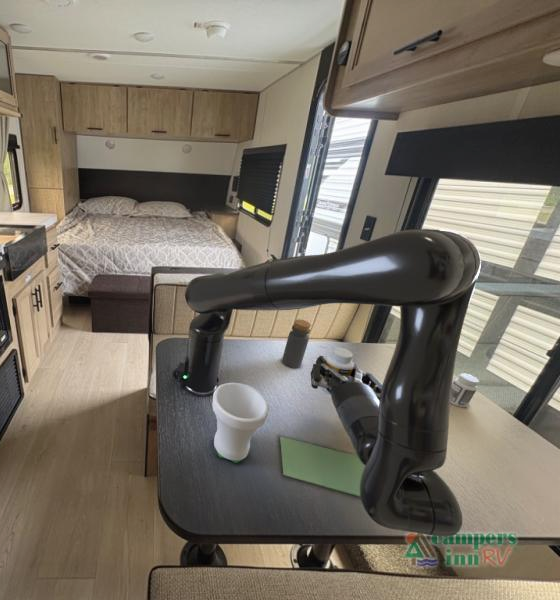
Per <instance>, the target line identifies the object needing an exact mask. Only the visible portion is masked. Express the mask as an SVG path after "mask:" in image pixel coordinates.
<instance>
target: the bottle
mask: <svg viewBox="0 0 560 600" xmlns="http://www.w3.org/2000/svg"><path fill="white" fill-rule="evenodd" d="M311 326H312V324H311V322H309V321H307V320H305V319H295V320H294V322H293V325H292V327H291V331H289V333H288V336H287V340H286V343H285V347H284V351H283V353H282V354H283V355H282V359H281V362H282V364H283V365H284V366H286V367H288V368H290V369H299V368H301V366H302V363H303V361H304V357H305V353H306V350H307V347H308V344H309V340H310V337H309V334H310V333H311Z"/></svg>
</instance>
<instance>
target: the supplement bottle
mask: <svg viewBox="0 0 560 600" xmlns="http://www.w3.org/2000/svg"><path fill="white" fill-rule="evenodd" d="M353 358H354V354H353V352H352V351H350V350H349V349H347V348H344V347H334V348H333V349H332V351H331V353H329V354H327V355H326V357H325V358H324V359H325V361H326V363H327V366H328V367H329V368H330V369H334V370H336V371H337V372H338V373H339V374H340V375H343V376H350V375H351V372H352V370H353V367H354V364H355V363H354V361H353ZM353 363H354V364H353ZM325 373H326V372H325ZM323 380H324V379H323ZM318 388H319V389H320V390H321V391H322V392H323V393H325V394H327V395H330V396H331V394H330V393H329V392H328V391H327V390H326V388H323V387H320V386H318Z"/></svg>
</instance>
